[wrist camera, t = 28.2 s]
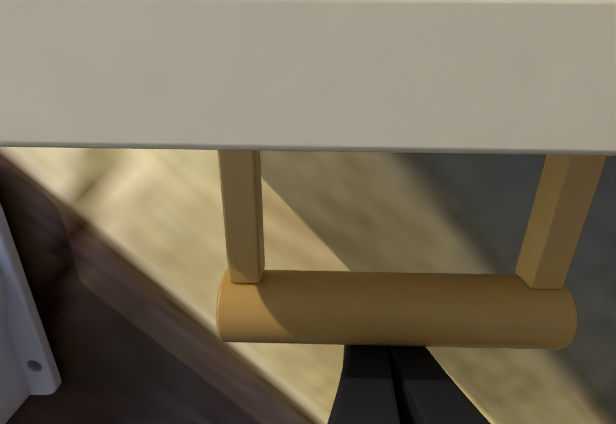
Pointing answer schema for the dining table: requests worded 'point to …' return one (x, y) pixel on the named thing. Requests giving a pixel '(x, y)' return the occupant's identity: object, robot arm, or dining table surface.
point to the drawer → (338, 134)
